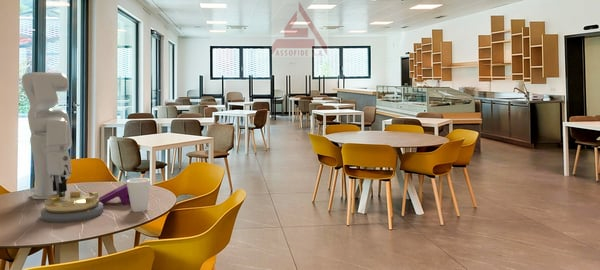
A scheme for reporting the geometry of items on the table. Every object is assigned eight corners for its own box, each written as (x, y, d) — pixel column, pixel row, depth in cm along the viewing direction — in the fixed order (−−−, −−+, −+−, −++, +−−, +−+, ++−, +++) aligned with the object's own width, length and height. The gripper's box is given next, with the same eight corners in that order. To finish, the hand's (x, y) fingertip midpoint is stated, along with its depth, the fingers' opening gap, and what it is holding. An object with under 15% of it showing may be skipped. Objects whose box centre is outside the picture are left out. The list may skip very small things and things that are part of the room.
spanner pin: (66, 196, 190) (64, 173, 188) (59, 197, 187) (56, 174, 186) (63, 194, 192) (61, 172, 190) (55, 196, 189) (53, 173, 188)
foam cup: (131, 207, 196) (130, 178, 195) (153, 206, 197) (152, 177, 196) (125, 213, 187) (123, 182, 186) (147, 212, 188) (146, 182, 186)
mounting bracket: (103, 219, 198) (141, 199, 202) (93, 203, 197) (132, 183, 200) (106, 213, 207) (142, 194, 211) (97, 198, 206) (133, 179, 209)
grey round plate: (27, 220, 177) (26, 212, 177) (71, 205, 199) (71, 198, 199) (74, 224, 171) (74, 217, 170) (115, 209, 193) (114, 202, 192)
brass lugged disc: (96, 210, 178) (95, 199, 178) (39, 215, 172) (38, 204, 171) (101, 199, 197) (101, 189, 197) (50, 202, 191) (50, 192, 190)
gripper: (78, 148, 186) (80, 191, 188) (54, 146, 194) (56, 187, 196) (61, 150, 179) (63, 195, 181) (36, 148, 187) (39, 190, 189)
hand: (59, 190), depth 189 cm, fingers closed on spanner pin, 3 cm apart
